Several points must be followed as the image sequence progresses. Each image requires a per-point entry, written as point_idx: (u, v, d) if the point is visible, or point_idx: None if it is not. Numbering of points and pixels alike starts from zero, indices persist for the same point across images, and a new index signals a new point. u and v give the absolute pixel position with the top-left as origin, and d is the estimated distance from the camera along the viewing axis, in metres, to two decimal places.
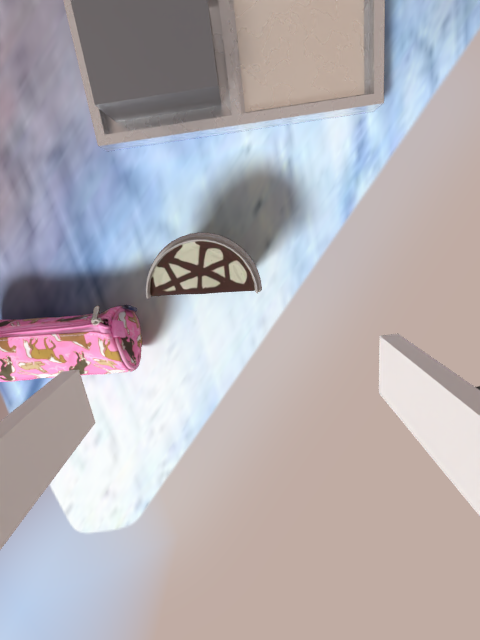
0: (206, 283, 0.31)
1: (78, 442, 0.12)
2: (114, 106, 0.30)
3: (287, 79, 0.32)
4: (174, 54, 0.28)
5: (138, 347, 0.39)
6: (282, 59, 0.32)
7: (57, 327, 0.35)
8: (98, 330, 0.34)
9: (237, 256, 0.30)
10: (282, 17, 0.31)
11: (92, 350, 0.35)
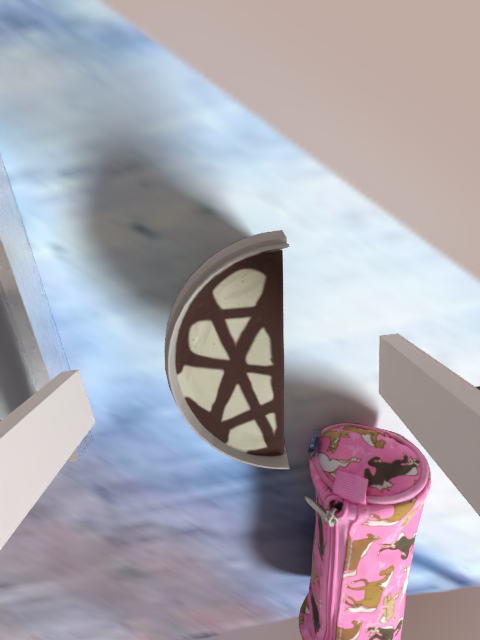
0: (262, 357, 0.14)
1: (78, 442, 0.12)
2: None
3: None
4: None
5: (385, 445, 0.23)
6: None
7: (332, 565, 0.22)
8: (348, 520, 0.20)
9: (203, 291, 0.14)
10: None
11: (382, 534, 0.20)
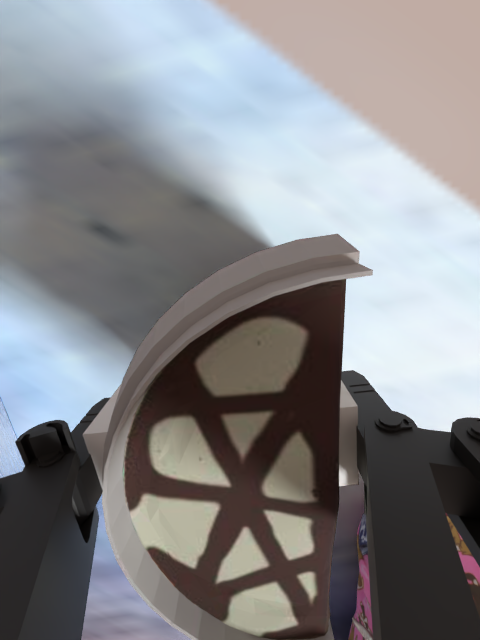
0: (295, 486, 0.07)
1: None
2: None
3: None
4: None
5: None
6: None
7: None
8: None
9: (174, 362, 0.06)
10: None
11: None
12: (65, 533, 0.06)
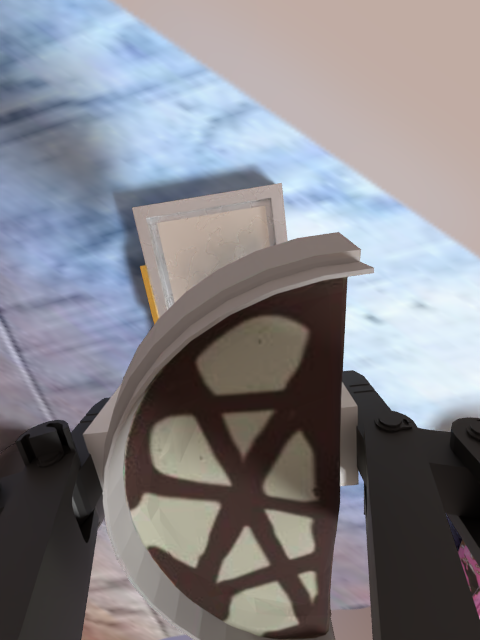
0: (296, 485, 0.07)
1: None
2: None
3: None
4: None
5: None
6: None
7: None
8: None
9: (175, 360, 0.06)
10: None
11: None
12: (65, 533, 0.06)
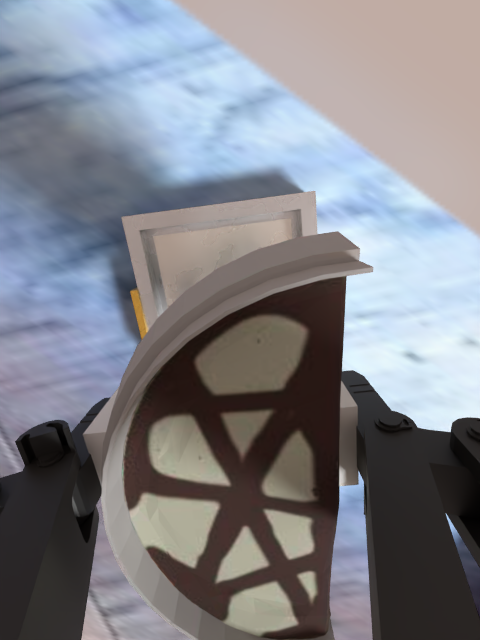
0: (295, 485, 0.07)
1: None
2: None
3: None
4: None
5: None
6: None
7: None
8: None
9: (174, 360, 0.06)
10: None
11: None
12: (65, 533, 0.06)
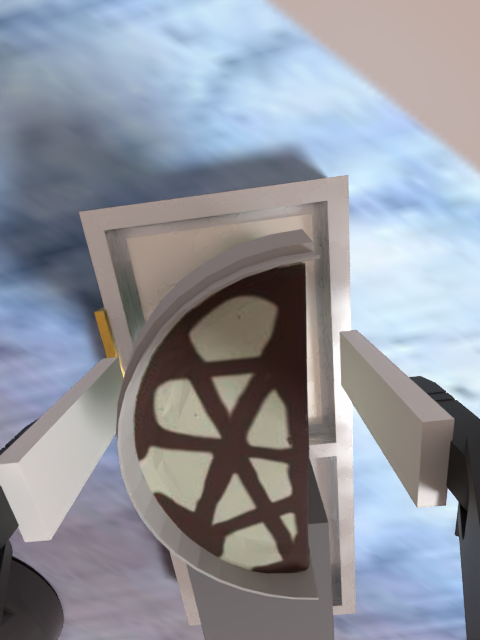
0: (273, 435, 0.09)
1: None
2: None
3: None
4: None
5: None
6: None
7: None
8: None
9: (173, 334, 0.08)
10: None
11: None
12: None
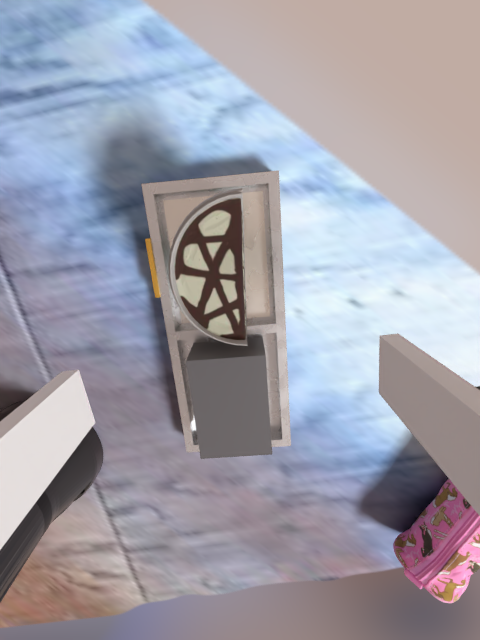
0: (229, 268, 0.23)
1: (78, 442, 0.12)
2: None
3: (245, 274, 0.32)
4: (239, 389, 0.31)
5: None
6: None
7: None
8: None
9: (192, 223, 0.22)
10: None
11: None
12: None
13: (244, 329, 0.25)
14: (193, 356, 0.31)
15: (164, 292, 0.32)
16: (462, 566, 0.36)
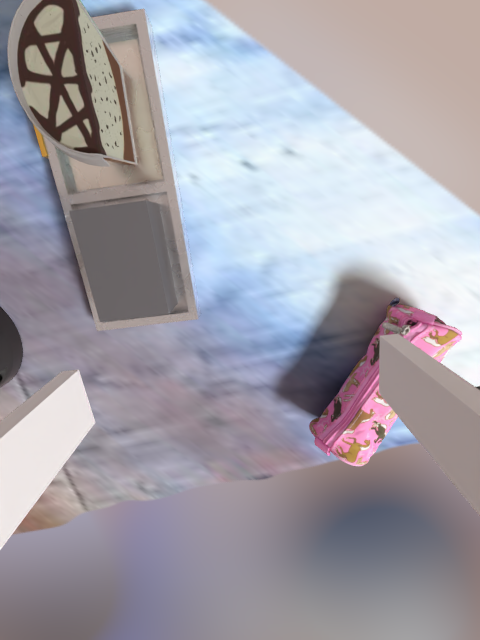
0: (70, 69, 0.23)
1: (78, 442, 0.12)
2: (168, 298, 0.34)
3: (132, 133, 0.33)
4: (126, 240, 0.32)
5: None
6: None
7: None
8: (415, 333, 0.33)
9: (27, 21, 0.23)
10: None
11: (426, 352, 0.33)
12: None
13: (97, 142, 0.25)
14: None
15: (51, 151, 0.32)
16: (365, 424, 0.36)
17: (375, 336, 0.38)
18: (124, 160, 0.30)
